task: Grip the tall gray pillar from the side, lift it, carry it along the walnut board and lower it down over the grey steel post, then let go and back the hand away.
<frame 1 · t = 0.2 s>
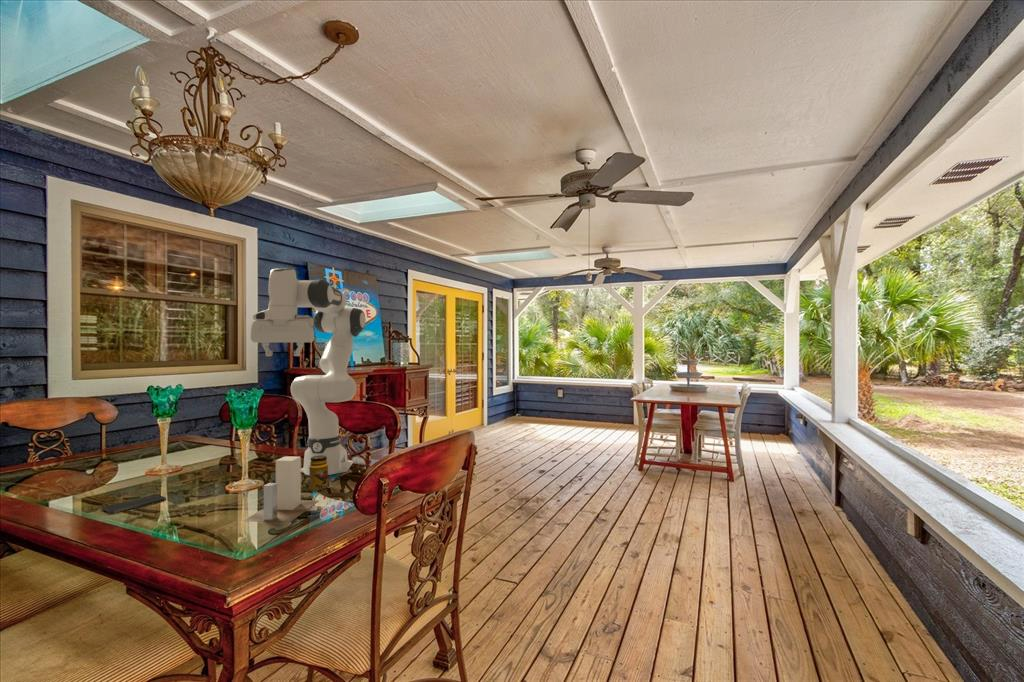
hand: (283, 356, 158), 48 cm above the table, tool pointing down, fingers open, 8 cm apart
tall gray pillar: (288, 506, 146), point 1 cm above the table, touching board
post: (270, 518, 136), resting on board
board: (283, 513, 143), on the table
condiment: (316, 491, 165), on the table
phone: (134, 506, 151), on the table
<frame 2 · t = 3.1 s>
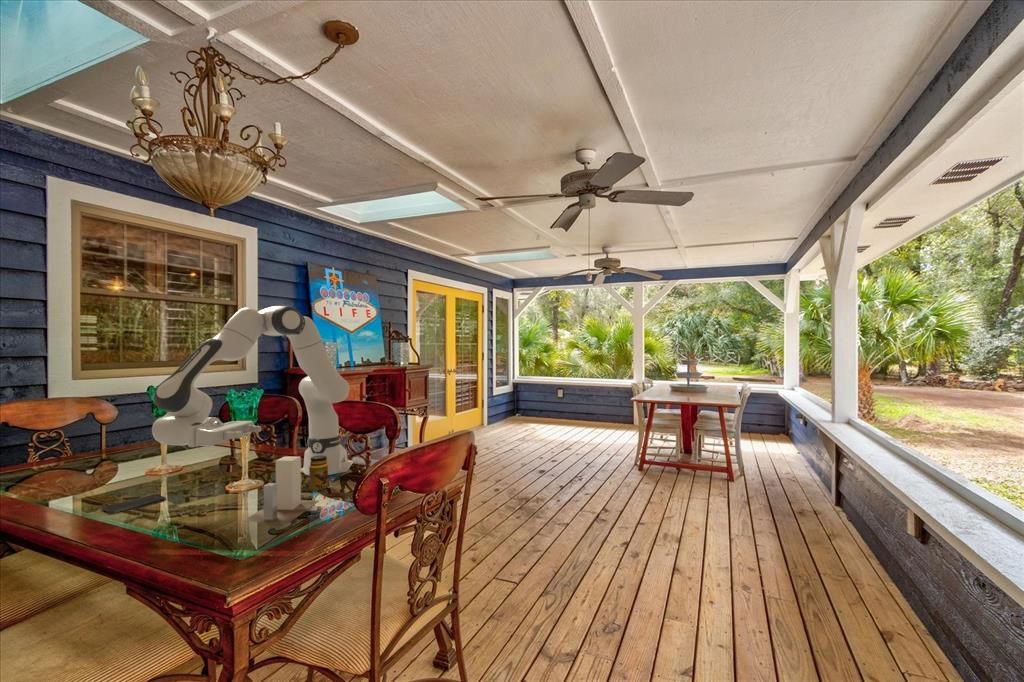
hand: (251, 431, 146), 24 cm above the table, tool horizontal, fingers open, 8 cm apart
nothing on the table moved.
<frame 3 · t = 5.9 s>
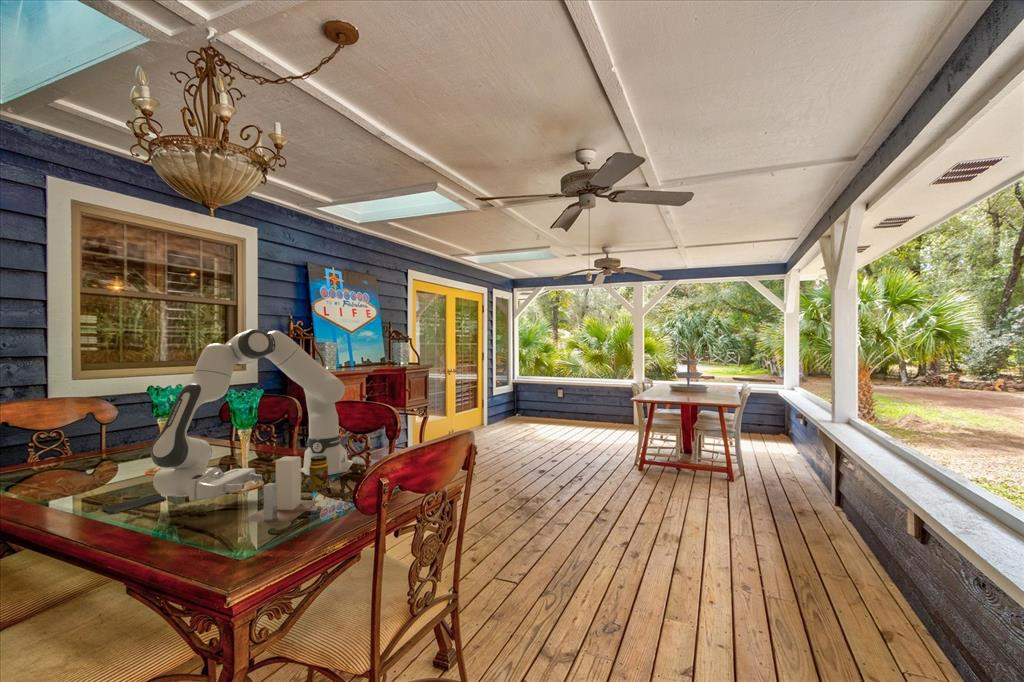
hand: (252, 482, 146), 9 cm above the table, tool horizontal, fingers open, 8 cm apart
nothing on the table moved.
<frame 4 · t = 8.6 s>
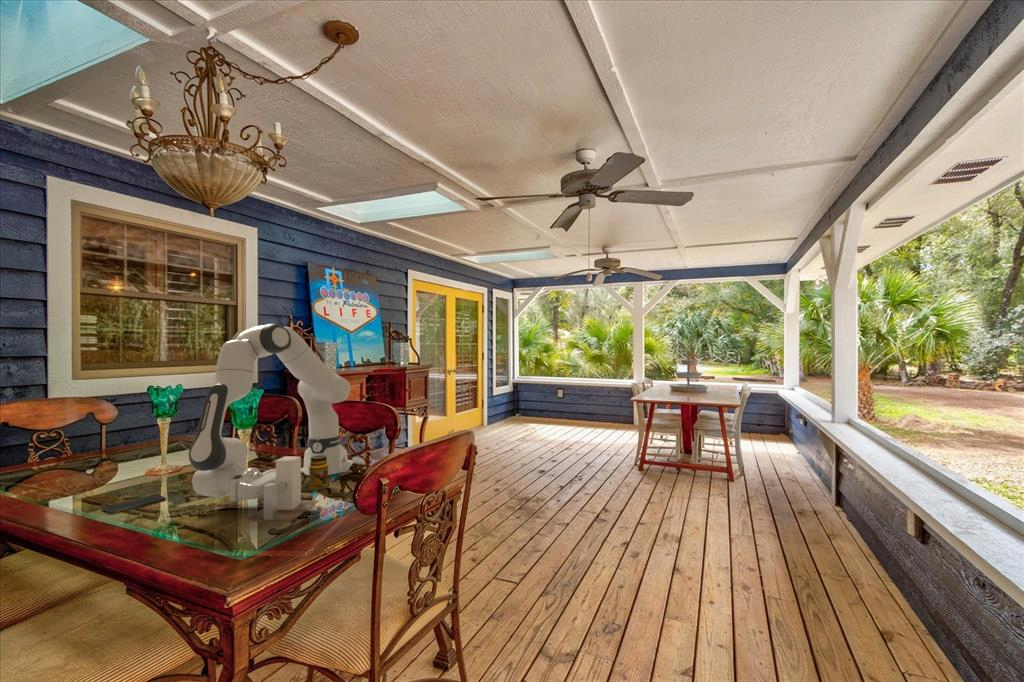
hand: (291, 482, 146), 9 cm above the table, tool horizontal, fingers closed on tall gray pillar, 5 cm apart
tall gray pillar: (288, 506, 146), point 1 cm above the table, touching board, gripper
everything else where it was.
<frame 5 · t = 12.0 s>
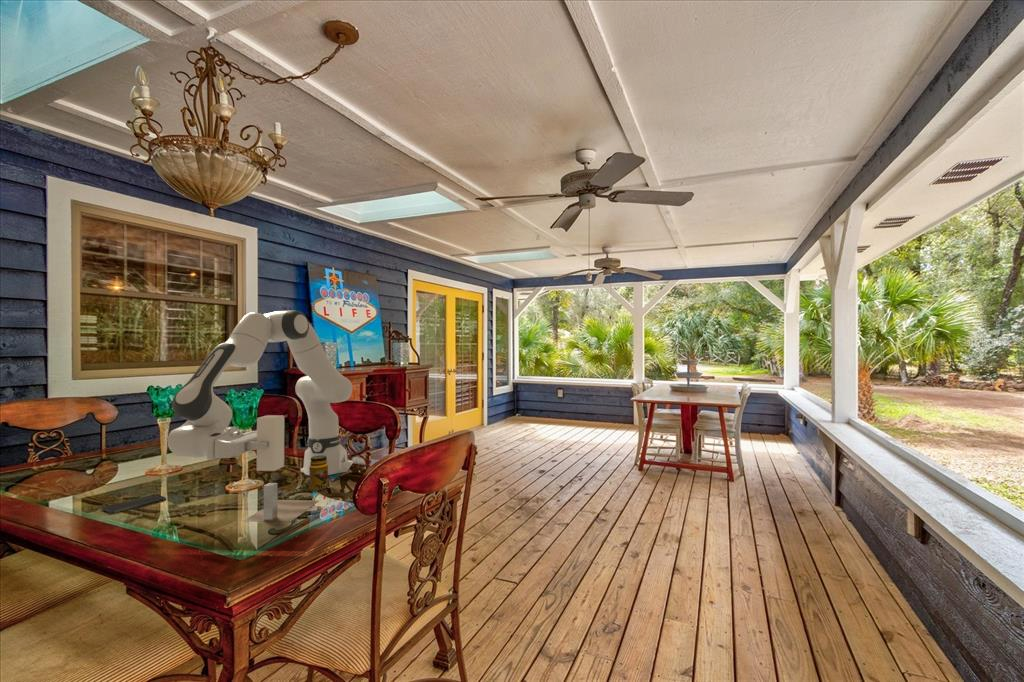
hand: (273, 442, 136), 23 cm above the table, tool horizontal, fingers closed on tall gray pillar, 5 cm apart
tall gray pillar: (270, 468, 136), point 16 cm above the table, touching gripper
everything else where it was.
when the fingers open (10 cm above the table, at t = 15.5 s): tall gray pillar drops 1 cm, resting on board.
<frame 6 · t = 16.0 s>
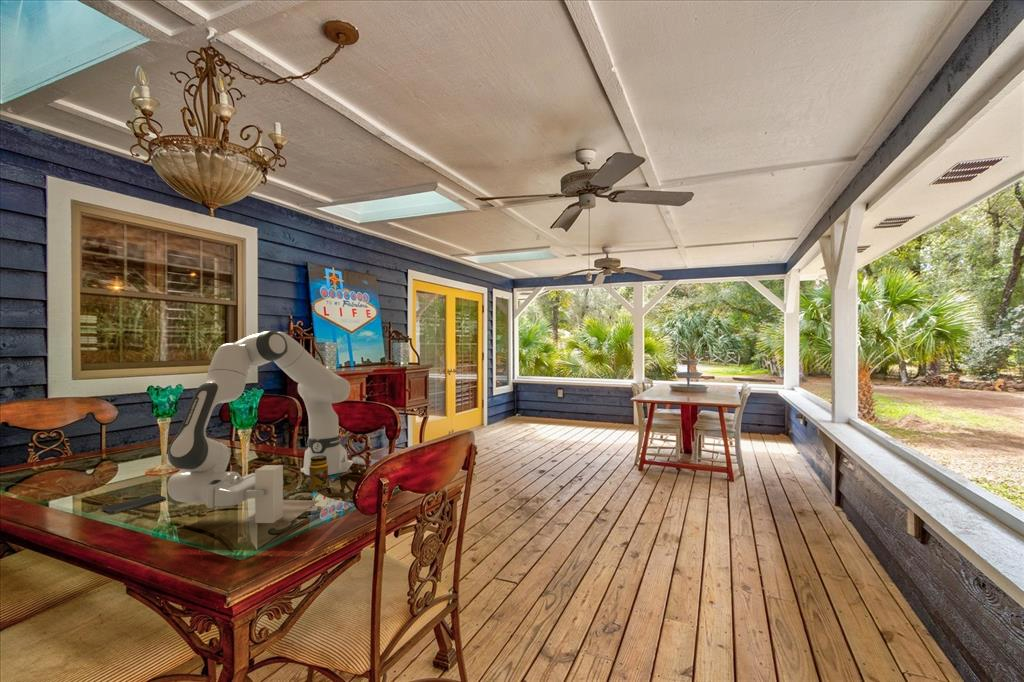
hand: (273, 487, 136), 10 cm above the table, tool horizontal, fingers open, 8 cm apart
tall gray pillar: (269, 519, 135), point 1 cm above the table, touching board
everything else where it was.
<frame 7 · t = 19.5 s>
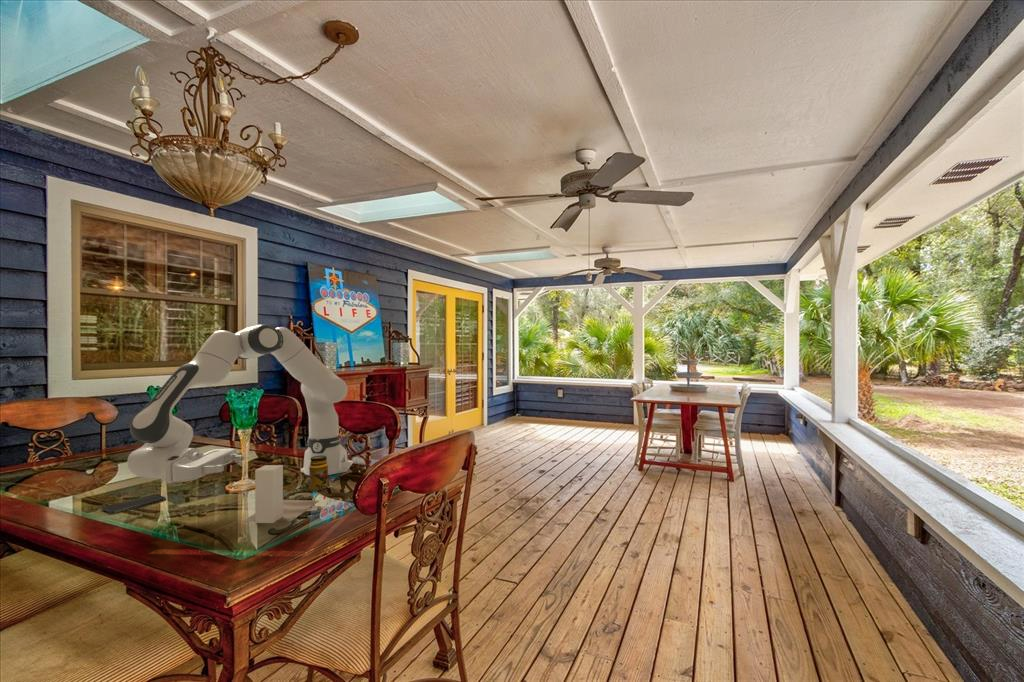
hand: (232, 463, 139), 16 cm above the table, tool horizontal, fingers open, 8 cm apart
nothing on the table moved.
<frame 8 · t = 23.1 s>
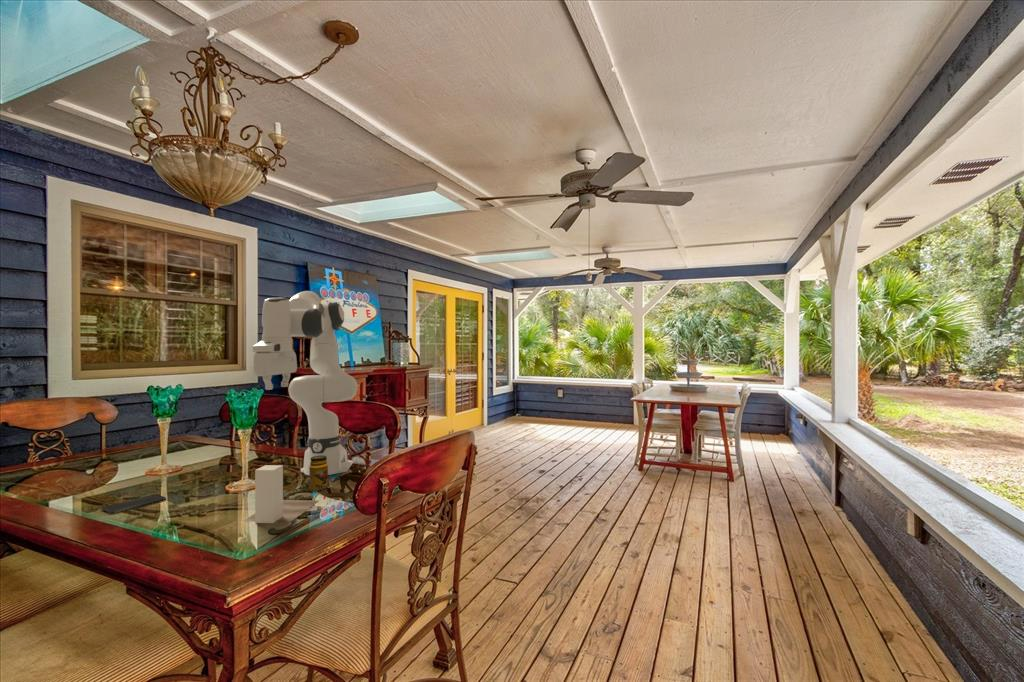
hand: (277, 388, 154), 37 cm above the table, tool pointing down, fingers open, 8 cm apart
nothing on the table moved.
at the end: tall gray pillar 0.6 cm from the post (horizontally); tall gray pillar point 1.0 cm above the table; tall gray pillar tilted 0° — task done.
